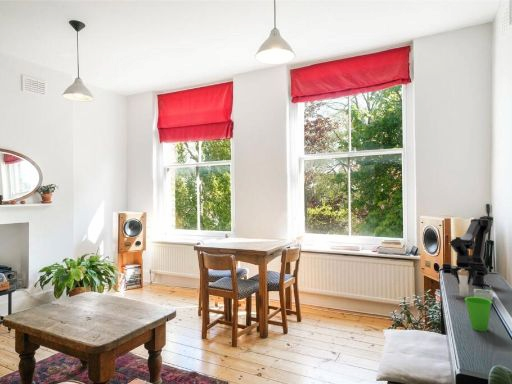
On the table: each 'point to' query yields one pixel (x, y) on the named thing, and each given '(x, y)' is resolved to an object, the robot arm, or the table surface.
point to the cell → (463, 283)
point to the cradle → (483, 294)
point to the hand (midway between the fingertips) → (463, 283)
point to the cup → (479, 312)
